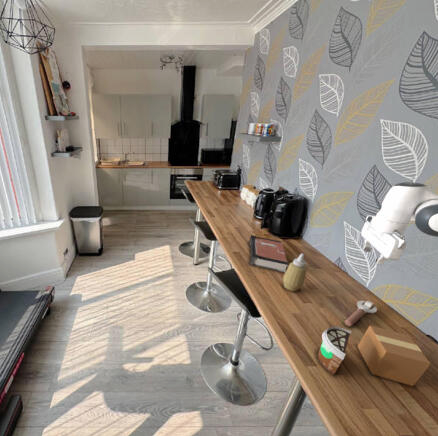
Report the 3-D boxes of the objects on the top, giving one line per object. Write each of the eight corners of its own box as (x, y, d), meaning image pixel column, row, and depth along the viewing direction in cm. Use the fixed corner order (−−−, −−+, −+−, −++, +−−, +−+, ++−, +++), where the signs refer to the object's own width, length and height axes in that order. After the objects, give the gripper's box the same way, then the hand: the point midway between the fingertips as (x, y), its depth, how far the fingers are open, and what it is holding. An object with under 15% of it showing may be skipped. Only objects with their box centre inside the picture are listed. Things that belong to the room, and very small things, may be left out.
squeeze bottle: (300, 296, 103) (313, 261, 95) (280, 288, 107) (291, 255, 99) (301, 285, 109) (313, 252, 102) (281, 279, 113) (292, 247, 106)
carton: (393, 356, 78) (408, 334, 73) (413, 386, 69) (431, 363, 65) (357, 346, 81) (369, 325, 76) (371, 373, 72) (386, 351, 68)
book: (287, 273, 118) (290, 264, 116) (250, 264, 123) (252, 256, 121) (280, 248, 140) (282, 240, 138) (249, 242, 146) (251, 235, 144)
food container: (318, 340, 82) (328, 319, 78) (340, 352, 78) (351, 330, 74) (309, 363, 74) (319, 341, 70) (332, 378, 70) (345, 355, 66)
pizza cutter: (355, 333, 86) (358, 327, 85) (337, 321, 91) (339, 316, 90) (377, 311, 96) (380, 305, 95) (359, 301, 101) (362, 296, 99)
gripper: (418, 240, 76) (398, 274, 82) (384, 216, 94) (368, 246, 100) (394, 236, 78) (376, 270, 84) (365, 214, 96) (351, 243, 101)
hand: (372, 257), depth 92 cm, fingers open, 8 cm apart
